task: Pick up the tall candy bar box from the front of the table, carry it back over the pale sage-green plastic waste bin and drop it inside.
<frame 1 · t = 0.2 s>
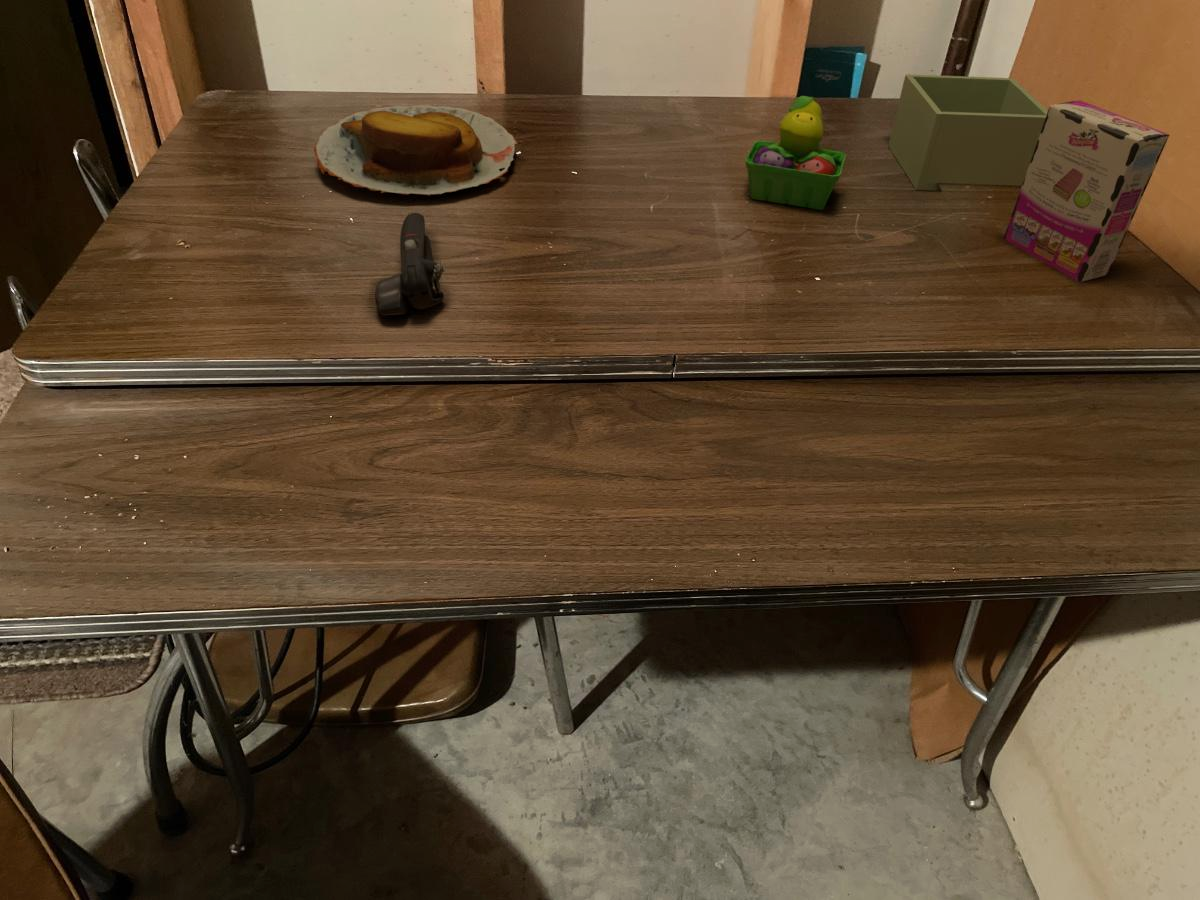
fruit basket: (789, 196, 114), on the table
candy bar box: (1050, 265, 103), on the table
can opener: (416, 282, 95), on the table
food on plate: (419, 164, 118), on the table
waste bin: (955, 169, 123), on the table
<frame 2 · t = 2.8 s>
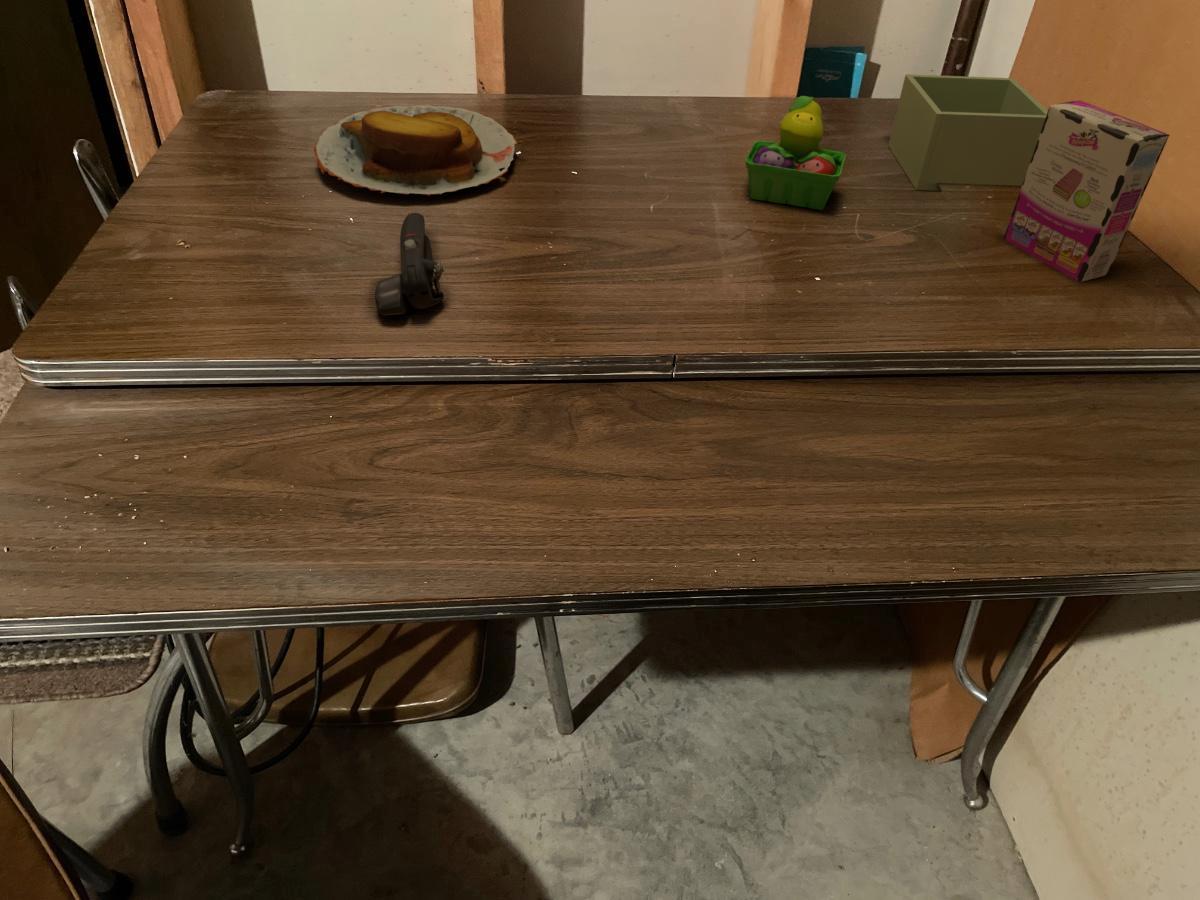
nothing on the table moved.
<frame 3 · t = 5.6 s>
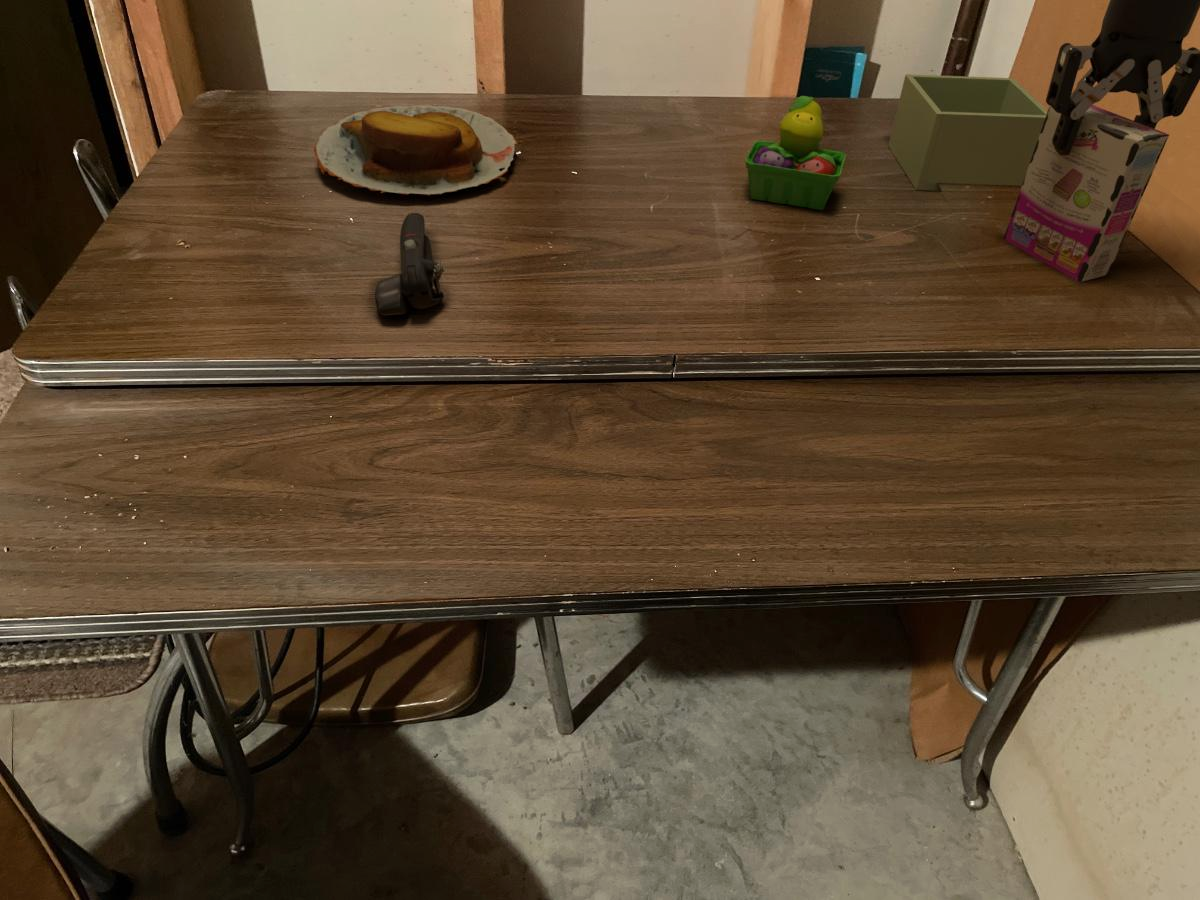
hand: (1095, 153, 95), 13 cm above the table, tool pointing down, fingers closed on candy bar box, 6 cm apart
candy bar box: (1050, 265, 103), on the table, touching gripper
everything else where it was.
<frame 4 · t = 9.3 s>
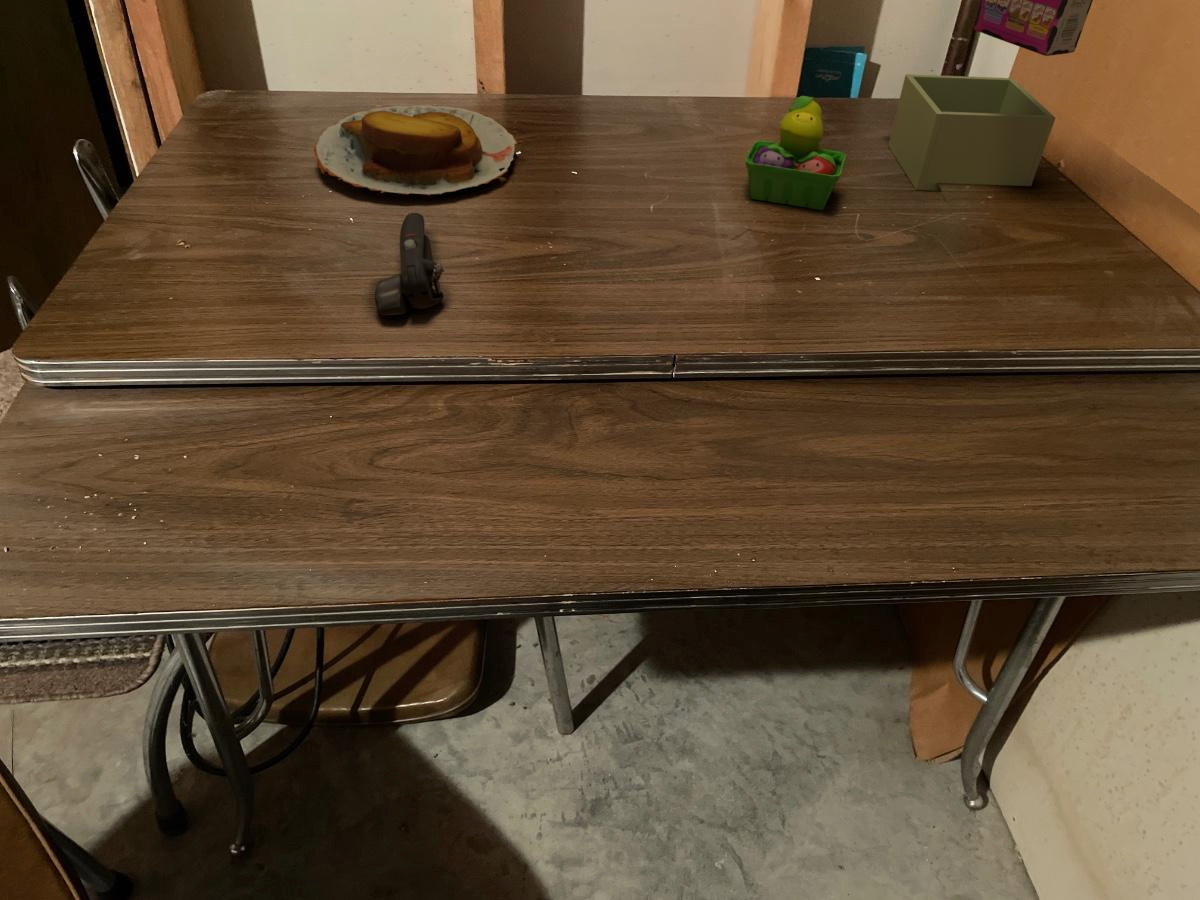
candy bar box: (1022, 43, 106), point 18 cm above the table, touching gripper
everything else where it was.
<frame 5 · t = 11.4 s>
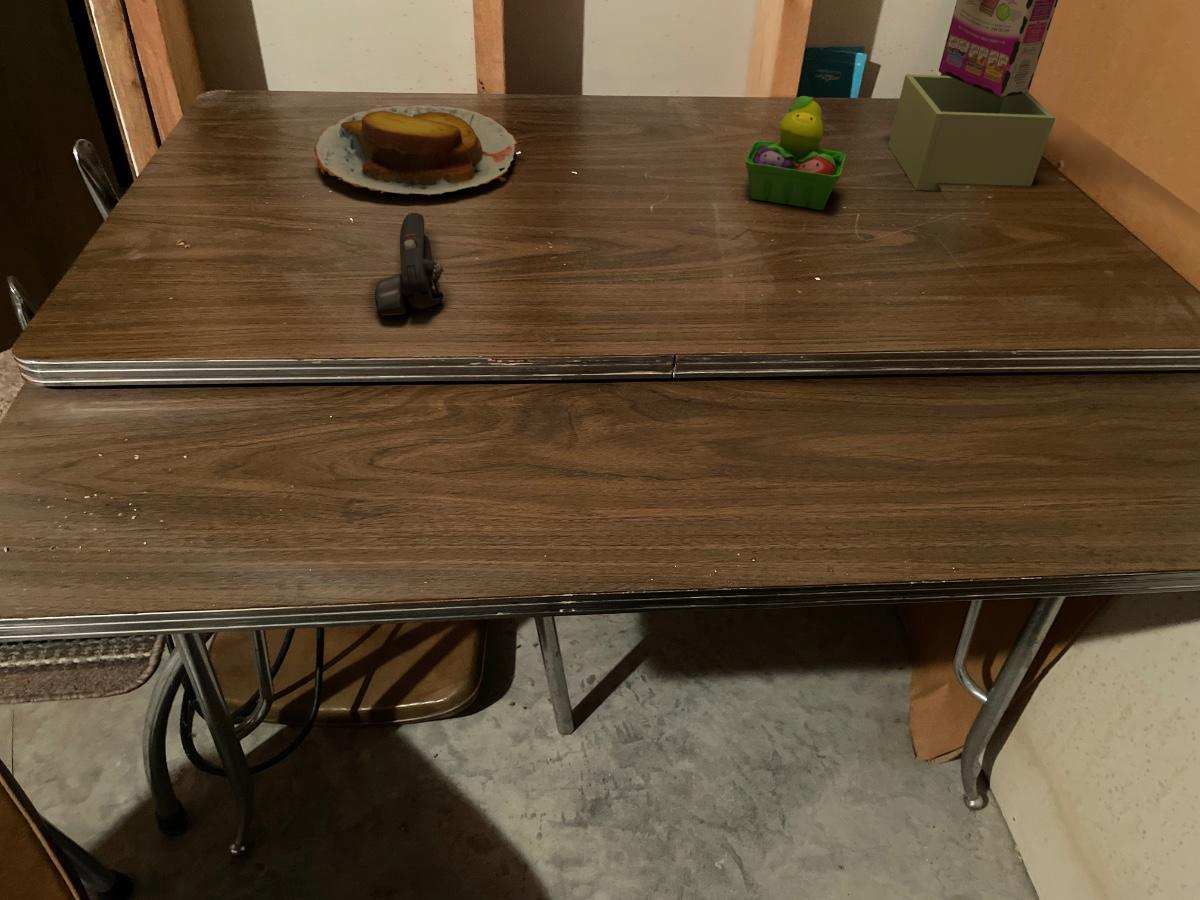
candy bar box: (981, 84, 115), point 11 cm above the table, touching gripper
everything else where it was.
when the fingers open (21 cm above the table, at t = 13.0 s): candy bar box drops 7 cm, resting on waste bin.
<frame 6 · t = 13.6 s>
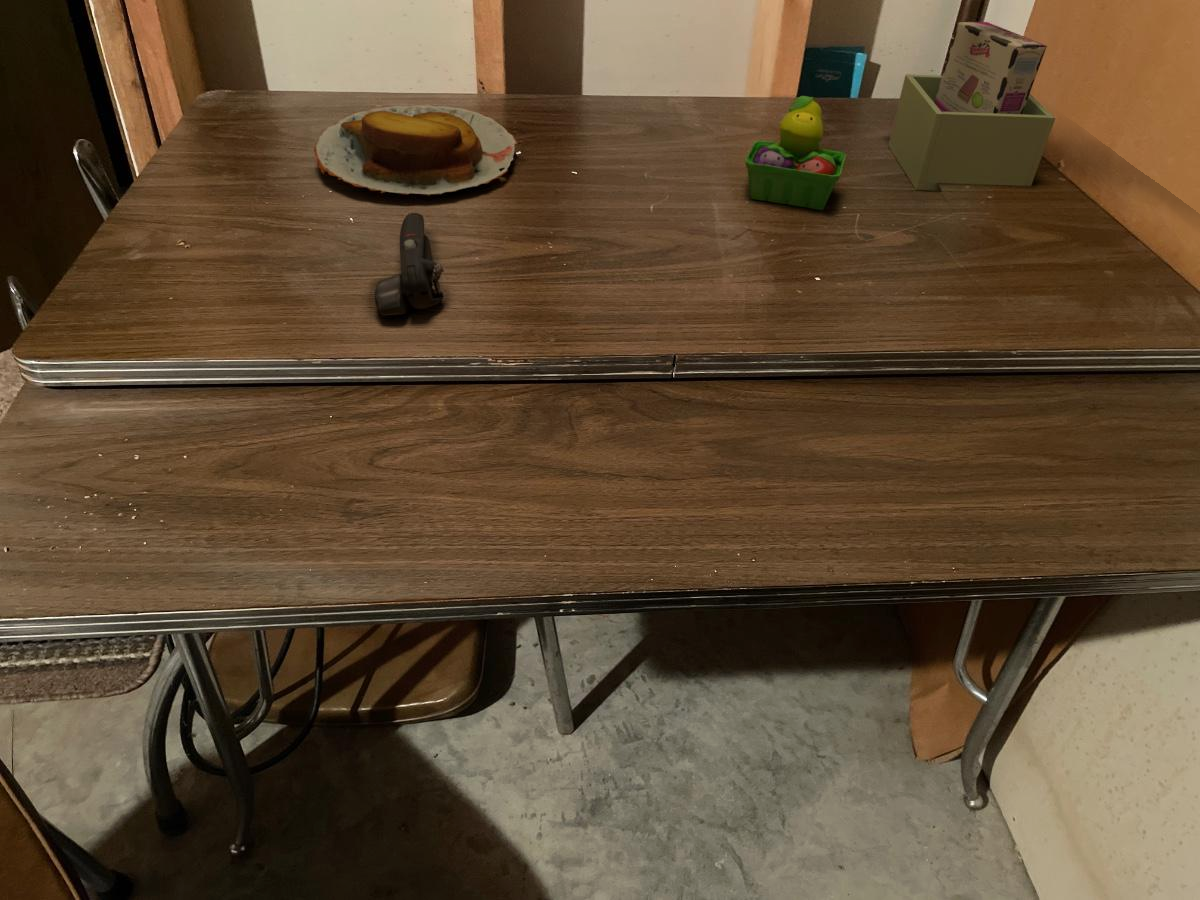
candy bar box: (958, 164, 122), point 1 cm above the table, touching waste bin
everything else where it was.
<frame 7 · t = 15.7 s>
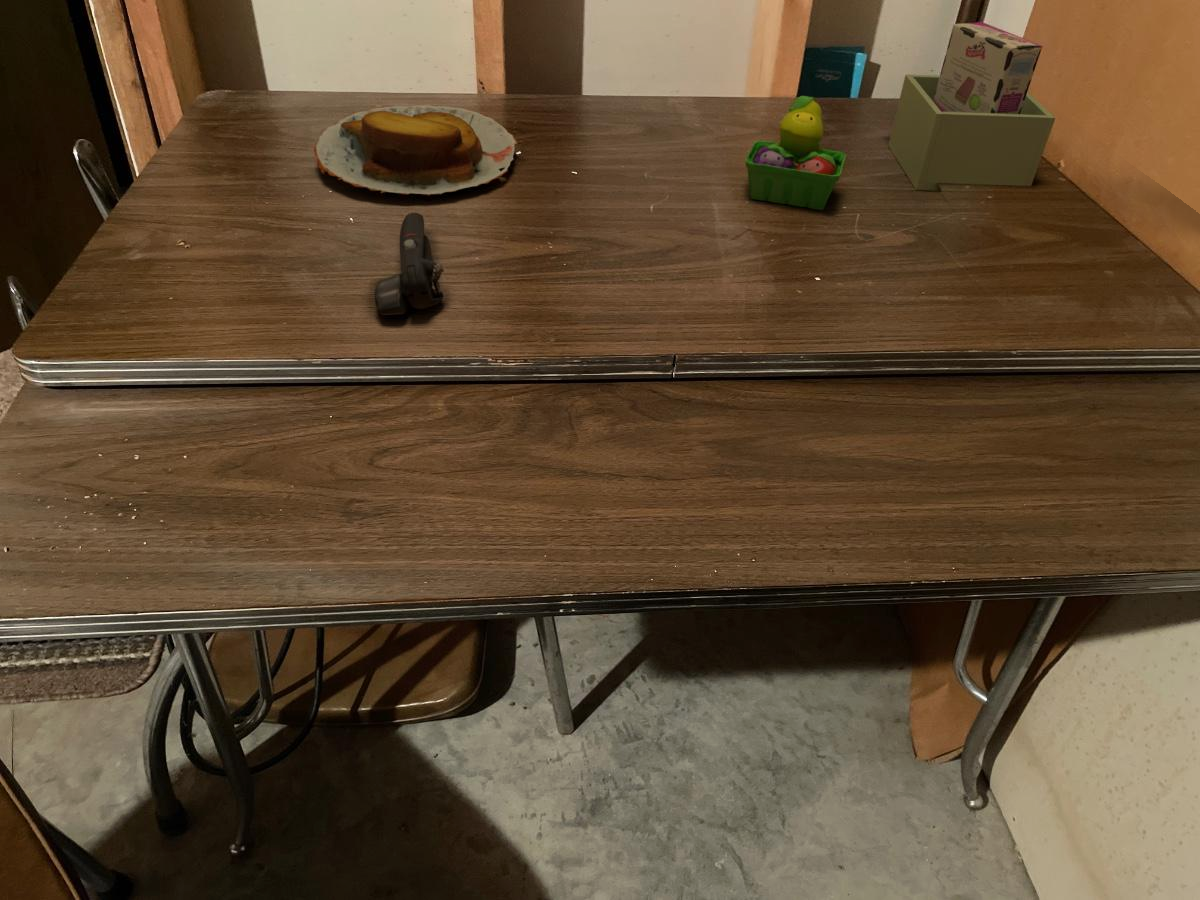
nothing on the table moved.
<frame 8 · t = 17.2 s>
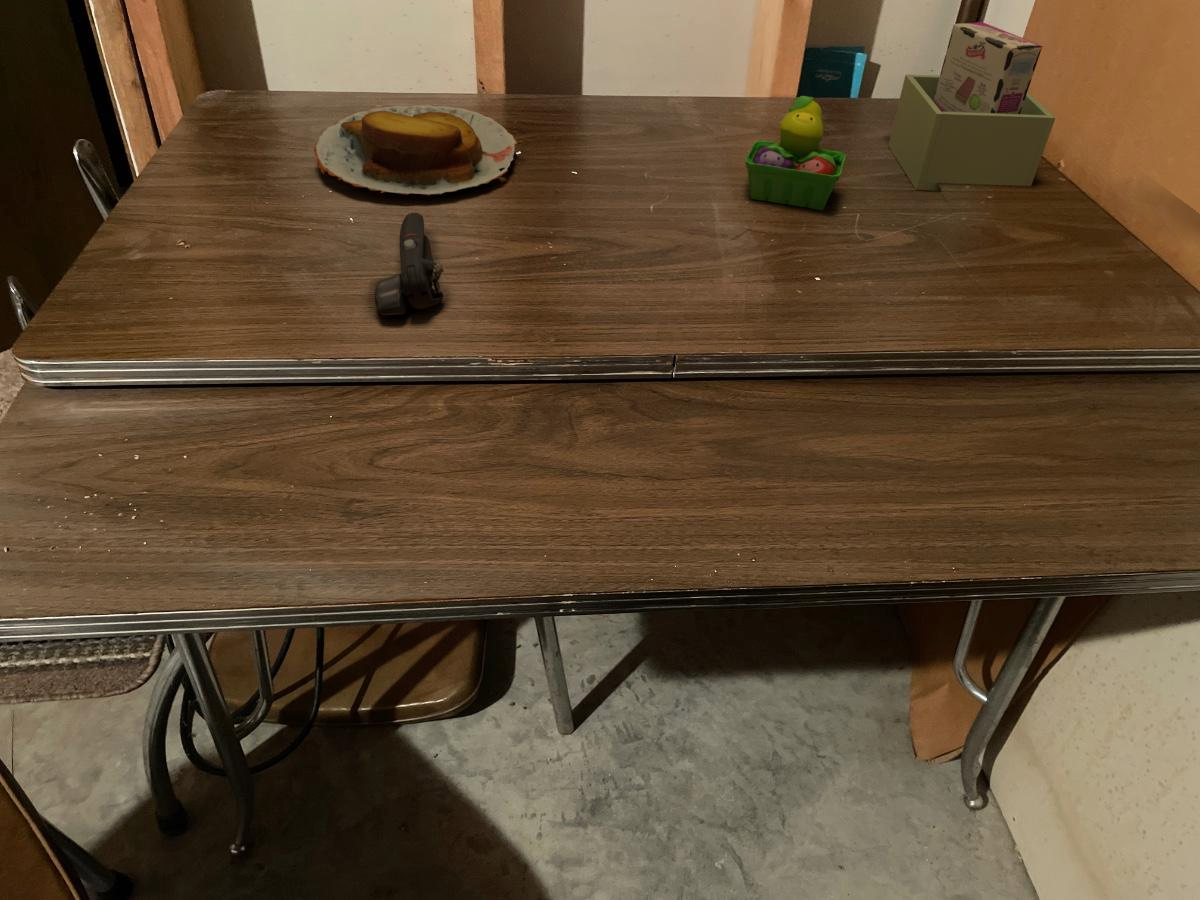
nothing on the table moved.
at the end: candy bar box inside the target area in the waste bin (0.2 cm from its centre), point 0.6 cm above the waste bin's base; the gripper is holding nothing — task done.
